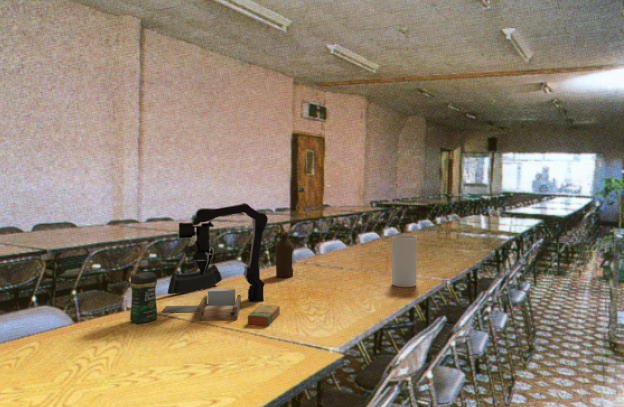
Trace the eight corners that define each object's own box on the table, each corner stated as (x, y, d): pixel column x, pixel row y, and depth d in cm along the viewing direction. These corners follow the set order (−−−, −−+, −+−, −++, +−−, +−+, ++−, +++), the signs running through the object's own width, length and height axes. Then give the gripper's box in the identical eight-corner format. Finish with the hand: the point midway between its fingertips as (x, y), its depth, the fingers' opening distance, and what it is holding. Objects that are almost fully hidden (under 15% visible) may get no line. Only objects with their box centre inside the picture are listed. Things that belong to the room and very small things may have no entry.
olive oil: (276, 278, 258) (276, 233, 256) (273, 274, 268) (273, 231, 267) (295, 277, 260) (295, 232, 259) (292, 274, 270) (292, 230, 269)
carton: (280, 315, 191) (280, 305, 190) (268, 327, 175) (268, 316, 175) (260, 314, 192) (260, 303, 192) (247, 326, 177) (247, 314, 176)
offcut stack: (234, 313, 191) (234, 304, 191) (233, 318, 185) (233, 309, 185) (204, 314, 190) (204, 305, 190) (202, 318, 184) (202, 309, 184)
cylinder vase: (389, 286, 241) (390, 237, 239) (394, 281, 252) (395, 234, 251) (414, 288, 236) (414, 239, 235) (418, 283, 248) (419, 236, 246)
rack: (240, 306, 202) (240, 294, 202) (237, 319, 183) (237, 307, 183) (204, 307, 201) (204, 295, 201) (197, 320, 182) (197, 307, 182)
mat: (204, 306, 202) (204, 305, 202) (200, 312, 193) (200, 311, 193) (166, 306, 201) (166, 306, 201) (161, 312, 192) (161, 312, 192)
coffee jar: (140, 325, 176) (139, 276, 175) (126, 321, 180) (126, 273, 179) (161, 319, 184) (160, 271, 183) (148, 315, 188) (147, 269, 187)
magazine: (166, 278, 215) (215, 252, 237) (162, 277, 217) (211, 251, 239) (176, 311, 220) (223, 282, 242) (172, 310, 222) (219, 281, 244)
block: (235, 307, 200) (235, 289, 200) (234, 309, 197) (234, 290, 197) (209, 308, 200) (208, 289, 199) (208, 310, 197) (208, 291, 196)
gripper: (188, 235, 213) (189, 269, 214) (179, 240, 195) (180, 278, 196) (213, 234, 214) (214, 268, 215) (206, 240, 195) (207, 277, 196)
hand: (204, 273), depth 205 cm, fingers open, 9 cm apart
